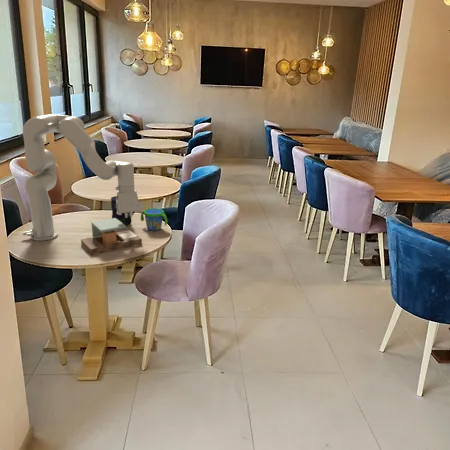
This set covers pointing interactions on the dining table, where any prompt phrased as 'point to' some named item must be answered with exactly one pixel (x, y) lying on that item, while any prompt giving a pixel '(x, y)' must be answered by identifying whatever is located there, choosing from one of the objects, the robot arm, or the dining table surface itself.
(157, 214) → the snack cup
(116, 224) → the cover
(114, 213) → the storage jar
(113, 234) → the block
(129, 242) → the board
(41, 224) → the robot arm
